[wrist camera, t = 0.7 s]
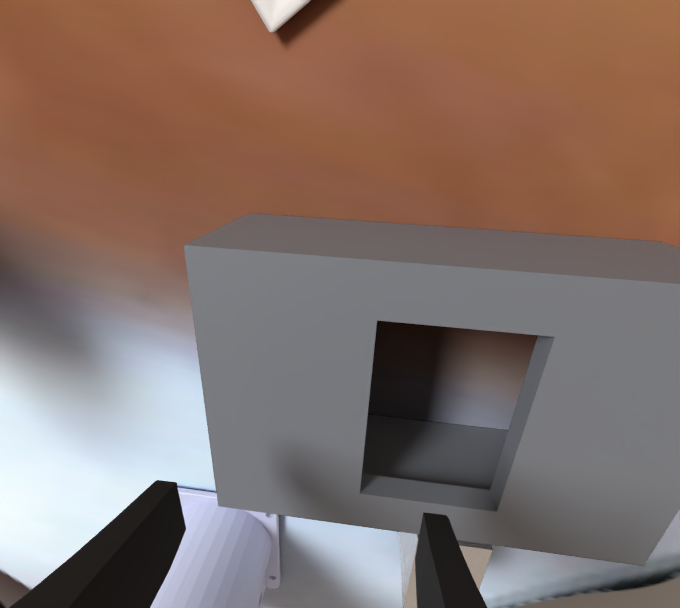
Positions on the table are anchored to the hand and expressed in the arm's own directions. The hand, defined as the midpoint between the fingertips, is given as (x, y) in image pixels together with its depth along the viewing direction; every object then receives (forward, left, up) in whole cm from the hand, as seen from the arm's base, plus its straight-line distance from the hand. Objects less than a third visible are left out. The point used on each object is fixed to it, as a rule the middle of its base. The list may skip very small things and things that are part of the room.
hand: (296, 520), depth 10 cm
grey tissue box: (+1, -5, -10) cm, 11 cm away
